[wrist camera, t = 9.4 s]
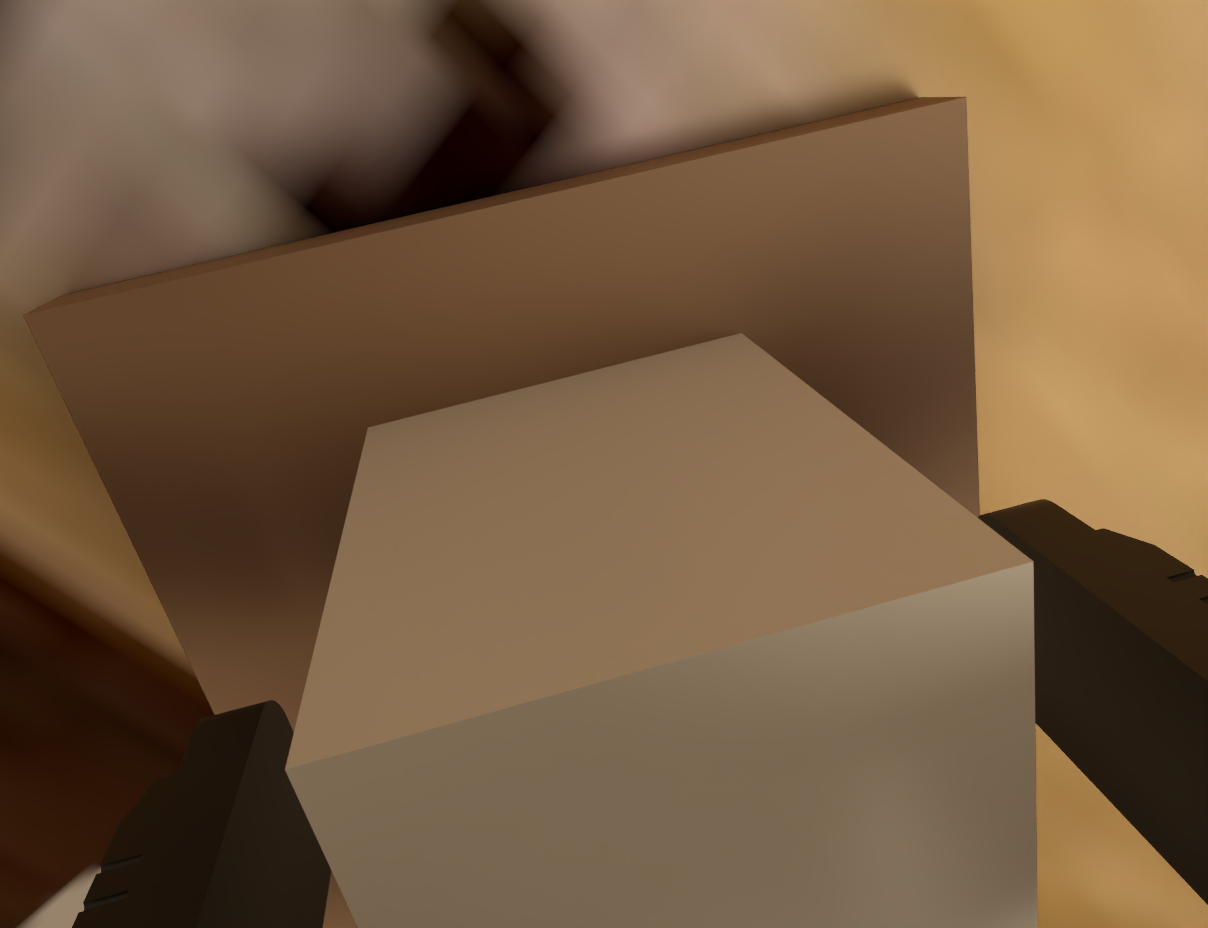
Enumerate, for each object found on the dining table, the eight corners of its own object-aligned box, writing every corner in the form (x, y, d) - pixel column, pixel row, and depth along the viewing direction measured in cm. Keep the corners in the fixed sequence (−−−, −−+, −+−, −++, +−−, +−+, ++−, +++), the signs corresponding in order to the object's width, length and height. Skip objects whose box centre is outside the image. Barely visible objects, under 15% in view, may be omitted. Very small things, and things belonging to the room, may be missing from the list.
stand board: (63, 294, 12) (23, 314, 11) (921, 97, 13) (966, 96, 11) (462, 1169, 20) (462, 1231, 19) (968, 1012, 21) (997, 1063, 19)
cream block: (741, 333, 12) (1032, 561, 6) (787, 641, 14) (1039, 1039, 8) (367, 427, 12) (284, 769, 6) (471, 729, 14) (490, 1214, 8)
